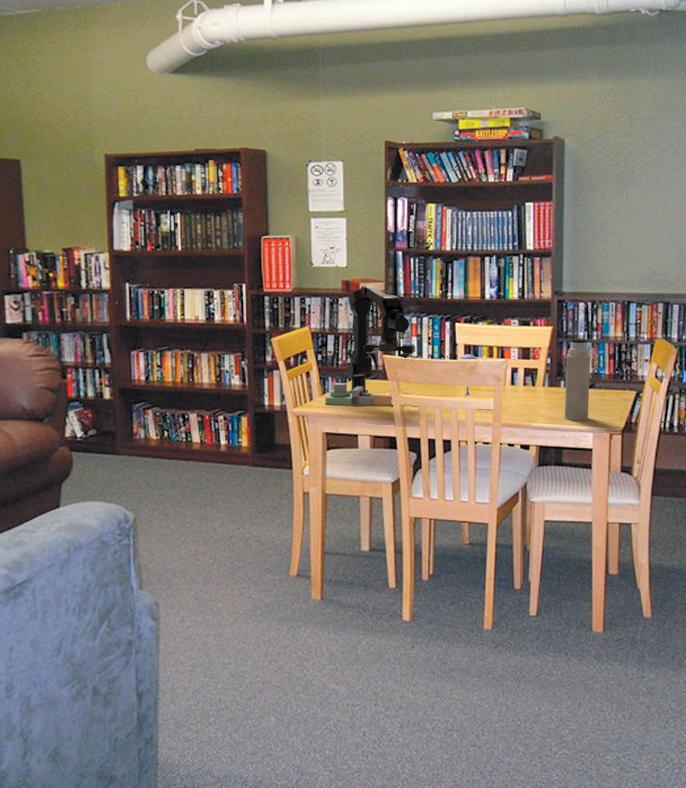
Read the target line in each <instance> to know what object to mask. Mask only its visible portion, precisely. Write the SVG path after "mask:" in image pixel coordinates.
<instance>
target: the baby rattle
mask: <svg viewBox="0 0 686 788" xmlns="http://www.w3.org/2000/svg"><path fill="white" fill-rule="evenodd" d="M459 359H478V358H477V357H476V356H475V355H473V354H464V355H463V354H462V356H461V357H459ZM469 388H470V387H467V386H466V392H465V395H464V397H465V396H467V397H468V395H470V396H471V394H470V391H469Z"/></svg>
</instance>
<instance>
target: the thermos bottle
mask: <svg viewBox="0 0 686 788" xmlns="http://www.w3.org/2000/svg"><path fill="white" fill-rule="evenodd" d="M590 367H591V355H590V354H589V349H588V347H587V339H584V338H573V339H571V347H570V348H568V354H566V367H565V368H566V371H565V373H566V374H565V399H564V401H565V402H564V403H565V404H564V419H566V420H570V421H585V420H586V421H587V420H588V418H589V402H590V400H589V397H590V396H589V395H590V372H591V371H590V370H591V369H590Z"/></svg>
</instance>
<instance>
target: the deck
mask: <svg viewBox="0 0 686 788" xmlns="http://www.w3.org/2000/svg"><path fill="white" fill-rule="evenodd" d="M347 387H348V386H347V383H346V382H336V383H334V384H333V388H334V389H333V390H331V391H330V393H329V395H327V396H326V397H325V405H335V406H336V405H337V406H338V405H340V406H353V405H354V406H356V405H357V406H373V404H372V397H370V395H371V394H372V393H373V392H372V393H371V392H370V393H368V392H366V393H363V387H360V386H357V387H355V388H354V389H353V390H352V389H351V390H352V393H350V391H351V390H347V389H348V388H347Z"/></svg>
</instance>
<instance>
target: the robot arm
mask: <svg viewBox="0 0 686 788" xmlns="http://www.w3.org/2000/svg"><path fill="white" fill-rule="evenodd" d="M373 302H374V303H375V304H377V308H378V310H379V311H380V312H381V313H380V315H379V318H380V317H381V334H380V335H381V337H380V339H379V341H378V343H376V342H375V343H374V342H373V343H372V342H368V335H367V333H368V331H367V330H368V329H367V327H368V326H367V324H368V323H367V321H368V320H367V319H368V315H369V313H370V312H371V309H372V304H373ZM348 303H349V308H350V311H351V313H352V314H353V316H354V352H353V354H352V355H351V358H350V361H349V362H350V364H349V366H348V367H347V370H346V372H345V374H346V378H349V379H351V390H349V391H350V393H352V390H353V389H354V388H355V387H357V386H360V387H363V393H368V392H369V390H368V389H367V385H366V382H367V381H366V379H367V378H371V377H372V370H373V365H372V361H373V364H374V366H375V369H376V371H377V372H378V371H379V367H380V366H379V352H387V353H391V352H392V351H393V352H395V351H396V352H402V353H401V358H402V357H404V358H407V359H408V358H409V356H411V355H412V354H414V353H416V345H415V344H414V343H412V344H408V343H404V344H403V345H399V339H398V333H405V332H406V331H408V329H409V326H410V323H409V320H408V319H407V318H406V317H405V309H404V307H403V305H402V303H401V300H400V298H399V297H398V296H397V295H394V294H393V295H392V294H387V293H384V292H383V291H382V290H380V289H378V288H377V287H376V286H375V285H374V284H373V285H372V284H370V285H368V284H367V285H362V286H360V289H357V290H355V291H354V292H352V294H351V296H350V297H349V300H348Z"/></svg>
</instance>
